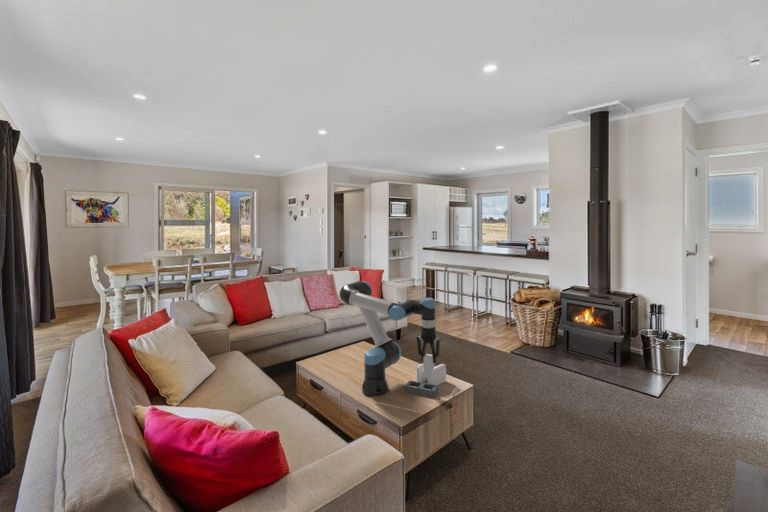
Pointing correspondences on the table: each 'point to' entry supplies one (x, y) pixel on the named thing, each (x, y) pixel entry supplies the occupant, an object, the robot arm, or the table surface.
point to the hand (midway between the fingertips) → (428, 367)
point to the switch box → (421, 388)
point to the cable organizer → (436, 379)
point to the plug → (428, 366)
